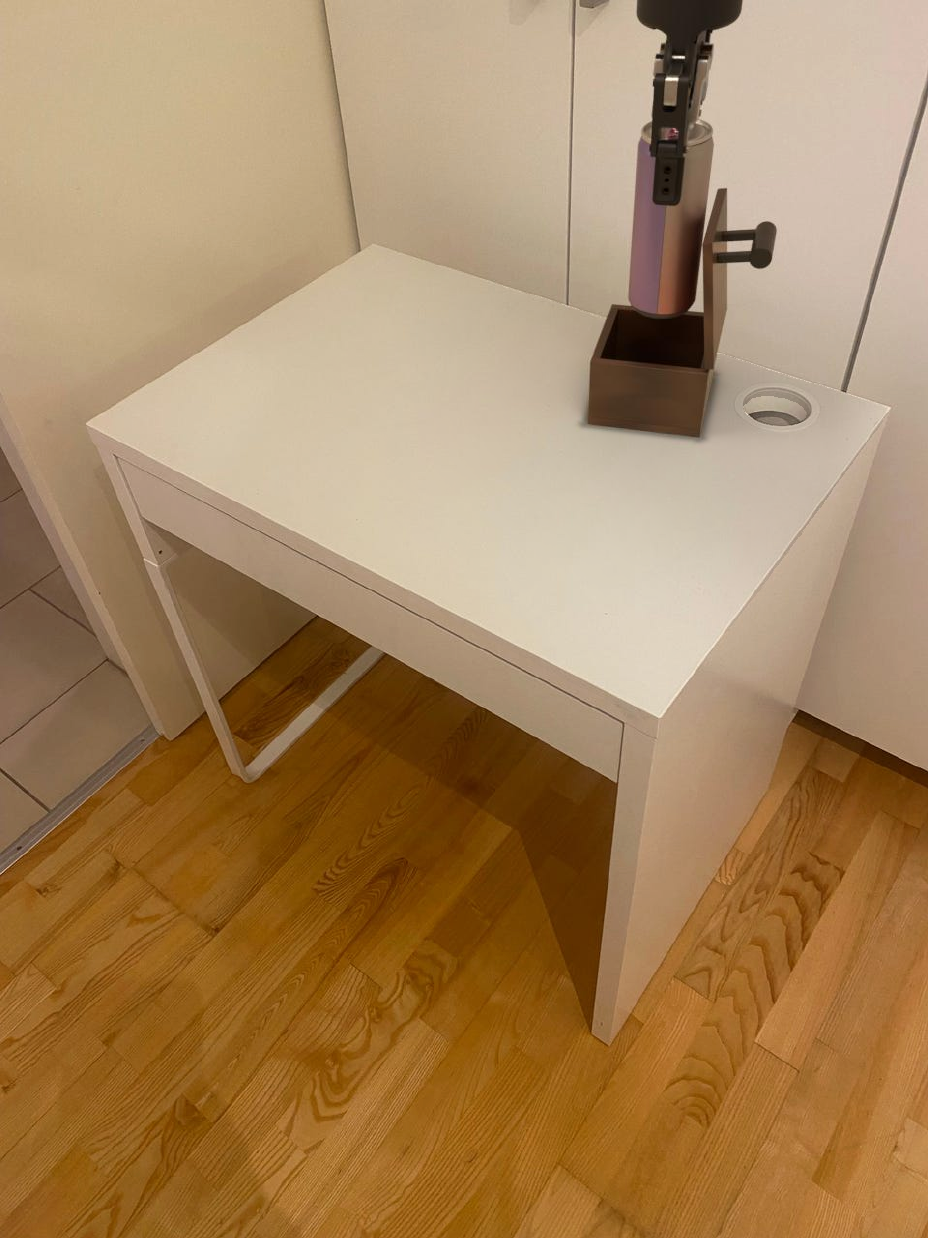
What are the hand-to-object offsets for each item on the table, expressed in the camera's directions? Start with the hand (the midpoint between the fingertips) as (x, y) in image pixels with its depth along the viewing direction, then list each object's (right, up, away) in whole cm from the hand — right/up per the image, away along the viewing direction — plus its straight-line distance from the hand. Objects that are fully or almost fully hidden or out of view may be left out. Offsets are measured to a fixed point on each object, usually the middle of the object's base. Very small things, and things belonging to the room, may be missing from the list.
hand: (672, 185), depth 79 cm
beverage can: (+1, -7, +8) cm, 11 cm away
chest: (+1, -14, +15) cm, 21 cm away
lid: (+4, -6, +5) cm, 9 cm away
